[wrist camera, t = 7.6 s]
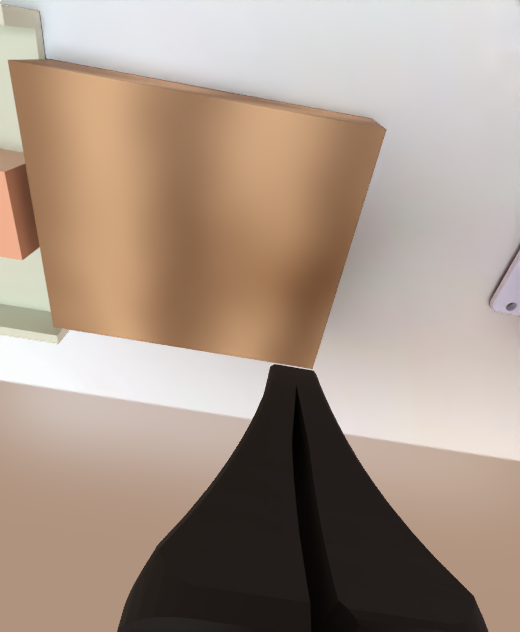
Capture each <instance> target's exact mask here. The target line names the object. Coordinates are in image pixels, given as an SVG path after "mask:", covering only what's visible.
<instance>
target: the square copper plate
mask: <svg viewBox="0 0 520 632" xmlns="http://www.w3.org/2000/svg"><path fill="white" fill-rule="evenodd" d="M8 65H9V71H10V77H11V83H12V89H13V94H14V100H15V106H16V112H17V118H18V123H19V129H20V135H21V141H22V147H23V153H24V158H25V164H26V170H27V176H28V182H29V187H30V193H31V199H32V205H33V211H34V217H35V222H36V228H37V234H38V240H39V246H40V251H41V257H42V263H43V269H44V275H45V281H46V286H47V292H48V298H49V304H50V310H51V315H52V321H53V327H57V328H63V329H69V330H76V331H82V332H88V333H94V334H100V335H106V336H113V337H119V338H125V339H131V340H137V341H144V342H150V343H156V344H162V345H168V346H174V347H181V348H187V349H193V350H199V351H205V352H212V353H218V354H224V355H230V356H236V357H243V358H249V359H255V360H261V361H267V362H273V363H280V364H286V365H292V366H298V367H304V368H311V369H313V365H314V362H315V359H316V356H317V352H318V349H319V346H320V343H321V339H322V336H323V333H324V330H325V327H326V323H327V320H328V317H329V314H330V310H331V307H332V304H333V301H334V297H335V294H336V291H337V288H338V284H339V281H340V278H341V275H342V271H343V268H344V265H345V262H346V258H347V255H348V252H349V249H350V246H351V242H352V239H353V236H354V233H355V229H356V226H357V223H358V220H359V216H360V213H361V210H362V207H363V203H364V200H365V197H366V194H367V190H368V187H369V184H370V181H371V177H372V174H373V171H374V168H375V165H376V161H377V158H378V155H379V152H380V148H381V145H382V142H383V139H384V135H385V132H386V129H385V128H384V127H382V126H381V125H380V124H378V123H377V122H376V121H374V120H373V119H370V118H364V117H359V116H353V115H348V114H343V113H337V112H332V111H326V110H321V109H316V108H310V107H305V106H300V105H294V104H289V103H283V102H278V101H273V100H267V99H262V98H256V97H251V96H246V95H240V94H235V93H229V92H224V91H219V90H213V89H208V88H202V87H197V86H192V85H186V84H181V83H175V82H170V81H165V80H159V79H154V78H148V77H143V76H138V75H132V74H127V73H121V72H116V71H111V70H105V69H100V68H94V67H89V66H84V65H78V64H73V63H67V62H62V61H57V60H51V59H26V60H8Z"/></svg>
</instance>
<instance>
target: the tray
mask: <svg viewBox="0 0 520 632" xmlns="http://www.w3.org/2000/svg"><path fill="white" fill-rule="evenodd" d="M26 59H45V53H44V45H43V37H42V29H41V21H40V13H39V11H35V10H30V9H25V8H20V7H14V6H9V5H4V4H0V149H5V150H11V151H17V152H22V153H23V147H22V141H21V135H20V129H19V123H18V118H17V112H16V106H15V100H14V94H13V89H12V83H11V77H10V71H9V65H8V60H26ZM68 331H69V329H63V328H57V327H53V321H52V315H51V310H50V304H49V298H48V292H47V286H46V281H45V275H44V269H43V263H42V257H41V251H40V247H39V248H38V249H37V250H35V251H34V252H33V253H31V254H30V255H29V256H28V257H26V258H25V259H24V260H17V259H11V258H5V257H0V335H5V336H11V337H17V338H24V339H30V340H36V341H42V342H49V343H55V344H59V343H60V341H61V340H62V339H63V338H64V336H65V335H66V334H67V333H68Z"/></svg>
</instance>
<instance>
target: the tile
mask: <svg viewBox="0 0 520 632" xmlns="http://www.w3.org/2000/svg"><path fill="white" fill-rule="evenodd" d="M39 247H40V246H39V240H38V234H37V228H36V222H35V217H34V211H33V205H32V199H31V193H30V187H29V182H28V176H27V170H26V164H25V158H24V153H22V152H17V151H11V150H5V149H0V257H5V258H11V259H17V260H24V259H25V258H26V257H28V256H29V255H30V254H31V253H33V252H34V251H35V250H37V249H38V248H39Z"/></svg>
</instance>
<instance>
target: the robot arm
mask: <svg viewBox="0 0 520 632" xmlns="http://www.w3.org/2000/svg"><path fill="white" fill-rule="evenodd" d="M509 303H513V304H512V305H511V306H509V307H506V306H507V305H508V304H509ZM490 306H491V308H492V309H493V310H494V311H496V312H499V313H505V314H511V315H517V316H520V250H519V252H518V254H517V255H516V257H515V259H514V261H513V262H512V264H511V266H510V268H509V269H508V271H507V273H506V274H505V276H504V278H503V280H502V281H501V283H500V285H499V287H498V288H497V290H496V292H495V294H494V295H493V297H492V299H491V301H490ZM117 632H488V629H487V627H486V624H485V621H484V619H483V617H482V614H481V612H480V610H479V608H478V605H477V603H476V600H475V598H474V596H473V595H472V594H471V593H470V592H469V591H468V590H467V589H466V588H465V587H464V586H463V585H462V584H461V583H460V582H459V581H458V580H457V579H456V578H455V577H454V576H453V575H452V574H451V573H450V572H449V571H448V570H447V569H446V568H445V567H444V566H443V565H442V564H441V563H440V562H439V561H438V560H437V559H436V558H435V557H434V556H433V555H432V554H431V553H430V552H429V550H428V549H427V548H426V547H425V546H424V545H423V544H422V543H421V542H420V541H419V539H418V538H417V537H416V536H415V535H414V534H413V533H412V531H411V530H410V529H409V528H408V527H407V525H406V524H405V523H404V522H403V521H402V519H401V518H400V517H399V516H398V514H397V513H396V512H395V511H394V510H393V508H392V507H391V506H390V505H389V503H388V502H387V501H386V499H385V498H384V496H383V495H382V494H381V492H380V491H379V490H378V488H377V487H376V486H375V484H374V483H373V481H372V480H371V478H370V477H369V475H368V474H367V472H366V471H365V469H364V468H363V466H362V465H361V463H360V462H359V460H358V458H357V457H356V455H355V453H354V452H353V450H352V448H351V447H350V445H349V443H348V441H347V440H346V438H345V436H344V434H343V432H342V430H341V428H340V427H339V425H338V423H337V421H336V419H335V417H334V415H333V413H332V411H331V409H330V406H329V404H328V402H327V400H326V398H325V395H324V393H323V391H322V388H321V386H320V383H319V381H318V378H317V375H316V373H315V372H314V371H312V370H306V369H300V368H294V367H288V366H282V365H276V364H274V365H272V366H270V370H269V374H268V379H267V383H266V387H265V392H264V395H263V398H262V400H261V402H260V404H259V407H258V409H257V411H256V413H255V415H254V417H253V419H252V421H251V423H250V425H249V427H248V429H247V430H246V432H245V434H244V436H243V438H242V439H241V441H240V443H239V444H238V446H237V447H236V449H235V451H234V452H233V454H232V455H231V457H230V458H229V460H228V461H227V463H226V464H225V466H224V467H223V468H222V470H221V471H220V473H219V474H218V475H217V477H216V478H215V480H214V481H213V482H212V483H211V485H210V486H209V487H208V489H207V490H206V491H205V492H204V493H203V495H202V496H201V497H200V498H199V500H198V501H197V502H196V503H195V504H194V506H193V507H192V508H191V509H190V511H189V512H188V513H187V514H186V515H185V516H184V517H183V519H182V520H181V521H180V522H179V523H178V524H177V525H176V526H175V527H174V528H173V529H172V530H171V531H170V532H169V533H168V535H167V536H166V537H165V538H164V539H163V540H162V541H161V542H160V543H159V544H158V546H157V547H156V549H155V551H154V552H153V554H152V555H151V557H150V559H149V560H148V562H147V563H146V565H145V566H144V568H143V570H142V571H141V573H140V575H139V577H138V578H137V580H136V582H135V584H134V585H133V587H132V589H131V591H130V594H129V596H128V598H127V601H126V603H125V606H124V609H123V613H122V616H121V620H120V624H119V627H118V631H117Z"/></svg>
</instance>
